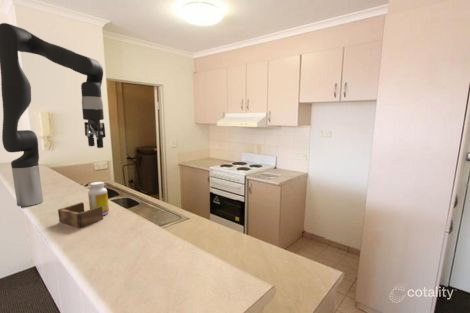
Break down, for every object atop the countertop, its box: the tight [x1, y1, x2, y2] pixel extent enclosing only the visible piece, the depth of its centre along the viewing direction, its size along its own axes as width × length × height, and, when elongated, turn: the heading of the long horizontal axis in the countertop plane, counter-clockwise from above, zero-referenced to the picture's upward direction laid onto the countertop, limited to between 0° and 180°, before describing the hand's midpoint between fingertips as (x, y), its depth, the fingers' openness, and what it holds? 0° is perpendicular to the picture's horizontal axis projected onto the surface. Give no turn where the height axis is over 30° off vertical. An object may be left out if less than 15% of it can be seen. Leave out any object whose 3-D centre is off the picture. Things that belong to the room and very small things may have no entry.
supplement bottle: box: [87, 181, 110, 216], centre depth 97 cm, size 7×7×13 cm
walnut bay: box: [57, 202, 104, 229], centre depth 91 cm, size 12×9×5 cm
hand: (95, 147), depth 104 cm, fingers open, 8 cm apart
